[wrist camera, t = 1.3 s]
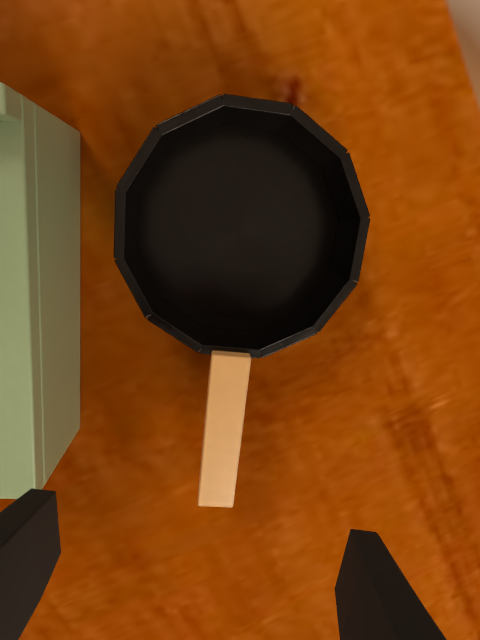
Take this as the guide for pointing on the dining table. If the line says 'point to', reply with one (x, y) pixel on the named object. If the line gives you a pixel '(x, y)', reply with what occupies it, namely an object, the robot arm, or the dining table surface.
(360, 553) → the robot arm
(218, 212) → the pan
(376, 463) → the dining table surface
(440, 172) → the dining table surface
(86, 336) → the dining table surface
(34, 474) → the shelf
